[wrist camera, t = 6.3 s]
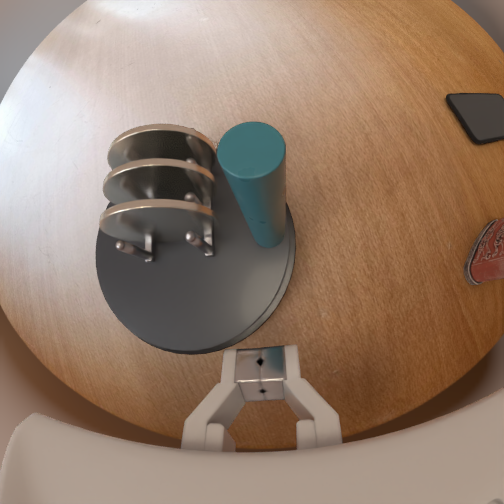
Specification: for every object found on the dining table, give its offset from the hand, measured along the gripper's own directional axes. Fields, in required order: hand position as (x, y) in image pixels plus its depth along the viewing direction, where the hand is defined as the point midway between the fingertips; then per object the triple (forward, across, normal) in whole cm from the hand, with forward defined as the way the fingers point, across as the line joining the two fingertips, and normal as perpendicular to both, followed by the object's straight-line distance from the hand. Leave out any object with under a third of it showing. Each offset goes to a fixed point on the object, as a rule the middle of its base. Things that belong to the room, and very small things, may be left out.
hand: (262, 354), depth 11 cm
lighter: (+10, -22, +5) cm, 25 cm away
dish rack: (+12, +7, +2) cm, 14 cm away
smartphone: (+22, -32, -8) cm, 40 cm away
